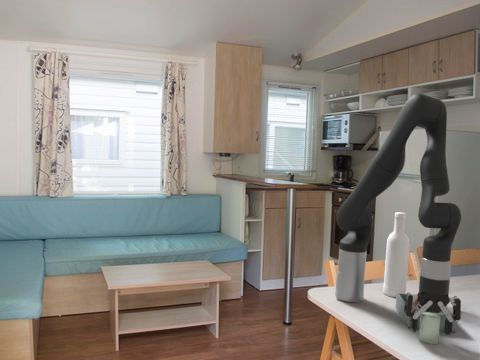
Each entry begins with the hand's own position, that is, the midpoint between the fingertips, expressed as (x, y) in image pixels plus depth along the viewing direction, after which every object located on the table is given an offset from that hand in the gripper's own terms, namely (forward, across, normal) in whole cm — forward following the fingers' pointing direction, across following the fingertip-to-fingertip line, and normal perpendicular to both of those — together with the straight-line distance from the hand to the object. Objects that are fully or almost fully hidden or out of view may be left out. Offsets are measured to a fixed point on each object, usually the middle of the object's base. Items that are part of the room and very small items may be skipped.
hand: (430, 332), depth 122 cm
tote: (+2, -3, -16) cm, 16 cm away
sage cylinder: (+2, 0, 0) cm, 2 cm away
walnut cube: (+2, -3, -20) cm, 21 cm away
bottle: (+2, +1, -39) cm, 39 cm away
